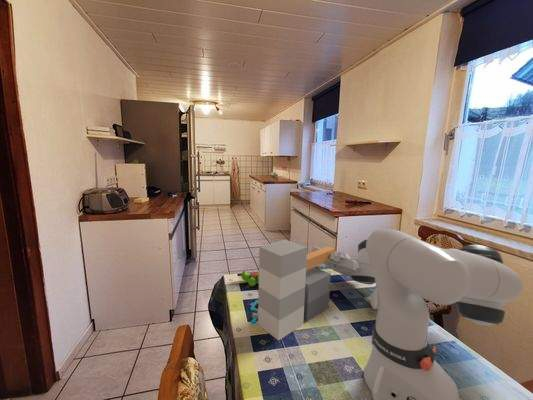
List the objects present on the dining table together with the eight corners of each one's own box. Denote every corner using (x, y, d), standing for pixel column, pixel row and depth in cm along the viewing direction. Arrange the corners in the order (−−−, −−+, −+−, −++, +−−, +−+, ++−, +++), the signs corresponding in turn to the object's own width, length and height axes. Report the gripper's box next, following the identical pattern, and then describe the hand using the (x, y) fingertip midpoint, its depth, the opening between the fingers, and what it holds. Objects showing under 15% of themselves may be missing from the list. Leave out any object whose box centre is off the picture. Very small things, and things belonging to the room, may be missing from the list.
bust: (378, 319, 93) (402, 302, 89) (362, 303, 95) (385, 286, 91) (378, 302, 104) (399, 286, 100) (364, 289, 106) (384, 272, 101)
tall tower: (303, 324, 86) (307, 247, 81) (278, 340, 78) (281, 256, 73) (282, 310, 93) (285, 239, 89) (258, 324, 85) (259, 246, 81)
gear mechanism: (283, 298, 103) (262, 293, 106) (283, 286, 102) (262, 281, 105) (267, 328, 84) (242, 322, 87) (267, 314, 83) (242, 308, 86)
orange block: (334, 258, 100) (335, 248, 99) (302, 272, 87) (302, 261, 86) (327, 255, 103) (327, 246, 102) (294, 269, 89) (294, 258, 89)
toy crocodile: (285, 285, 112) (285, 272, 111) (281, 292, 106) (281, 279, 105) (245, 277, 118) (245, 265, 117) (239, 284, 112) (239, 271, 111)
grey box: (328, 307, 96) (330, 273, 93) (306, 321, 87) (308, 284, 85) (307, 296, 103) (309, 265, 101) (286, 308, 95) (287, 274, 92)
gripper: (360, 278, 99) (345, 270, 90) (318, 261, 114) (302, 253, 105) (365, 263, 100) (351, 254, 91) (323, 248, 115) (307, 239, 106)
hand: (324, 253), depth 98 cm, fingers closed on orange block, 3 cm apart
